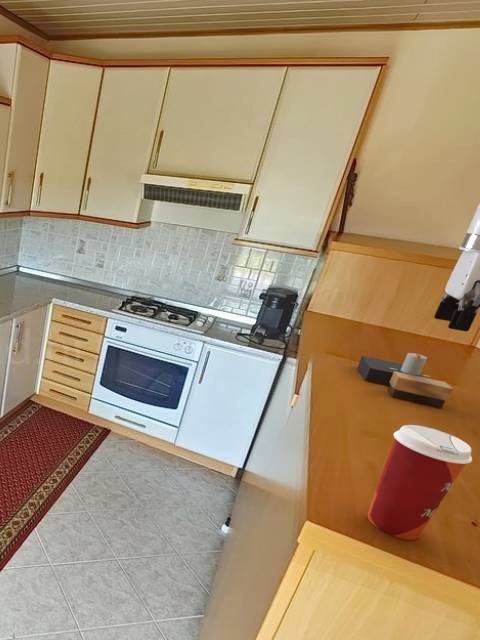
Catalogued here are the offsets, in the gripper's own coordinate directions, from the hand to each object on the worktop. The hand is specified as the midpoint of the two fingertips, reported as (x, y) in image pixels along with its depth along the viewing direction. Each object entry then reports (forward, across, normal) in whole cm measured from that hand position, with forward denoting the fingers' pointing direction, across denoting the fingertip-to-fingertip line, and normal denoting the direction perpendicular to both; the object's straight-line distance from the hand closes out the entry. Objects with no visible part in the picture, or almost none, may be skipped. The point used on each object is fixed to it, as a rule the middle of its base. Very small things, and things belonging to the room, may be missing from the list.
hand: (449, 324), depth 106 cm
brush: (+18, 0, 0) cm, 18 cm away
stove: (+18, +12, +3) cm, 22 cm away
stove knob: (+15, +10, 0) cm, 18 cm away
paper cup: (+18, -63, +16) cm, 68 cm away
